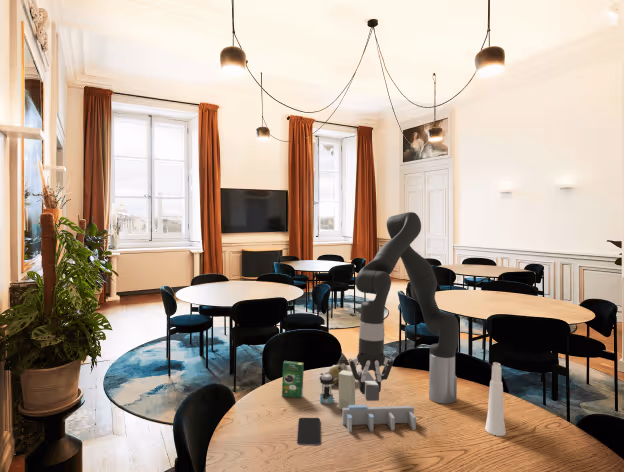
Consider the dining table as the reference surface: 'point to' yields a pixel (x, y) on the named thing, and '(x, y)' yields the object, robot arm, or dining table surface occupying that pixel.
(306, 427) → the smartphone
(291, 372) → the coffee box
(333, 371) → the ceramic sculpture
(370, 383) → the gray rectangular block
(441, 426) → the dining table surface
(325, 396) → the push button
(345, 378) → the box
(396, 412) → the grey pronged rack
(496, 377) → the cosmetic bottle
